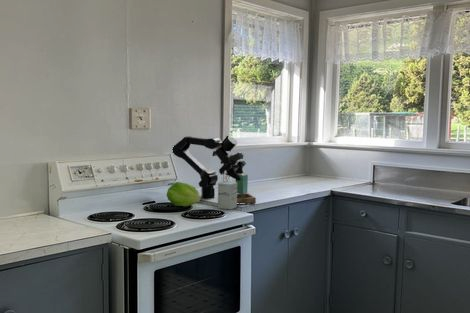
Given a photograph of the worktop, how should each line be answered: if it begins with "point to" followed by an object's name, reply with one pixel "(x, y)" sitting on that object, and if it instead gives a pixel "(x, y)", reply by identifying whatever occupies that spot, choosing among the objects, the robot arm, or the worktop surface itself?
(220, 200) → the grey stone cylinder
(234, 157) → the robot arm
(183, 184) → the green oval fruit
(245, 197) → the box
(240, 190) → the tea tin
